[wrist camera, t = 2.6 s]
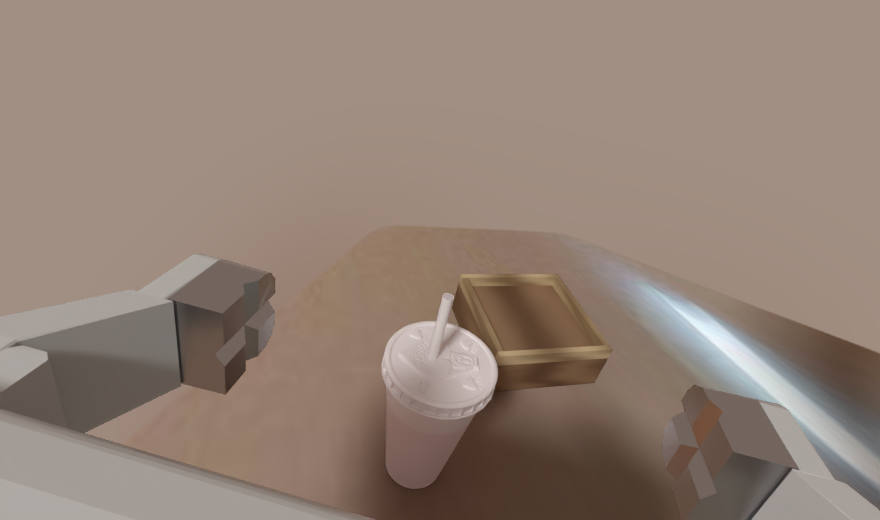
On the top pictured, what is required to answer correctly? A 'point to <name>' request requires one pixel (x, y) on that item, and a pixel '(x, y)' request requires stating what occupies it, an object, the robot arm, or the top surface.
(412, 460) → the smoothie
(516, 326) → the wooden tray
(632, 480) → the top surface
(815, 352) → the top surface
